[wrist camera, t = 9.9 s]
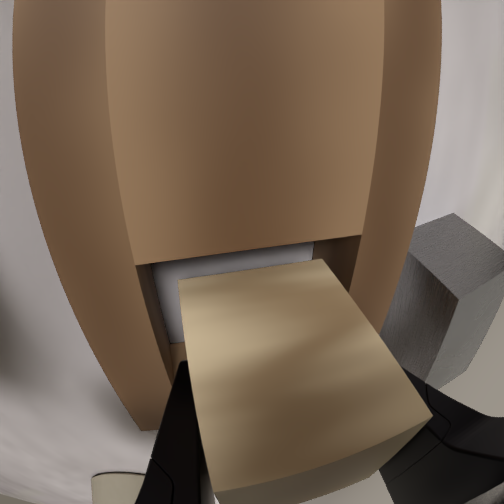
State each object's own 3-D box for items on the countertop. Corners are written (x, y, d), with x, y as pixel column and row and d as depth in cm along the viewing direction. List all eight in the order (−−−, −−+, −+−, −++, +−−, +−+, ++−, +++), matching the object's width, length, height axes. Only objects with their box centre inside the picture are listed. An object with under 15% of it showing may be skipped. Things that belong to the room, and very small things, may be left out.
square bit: (321, 258, 10) (433, 416, 5) (305, 349, 12) (368, 477, 7) (177, 279, 9) (213, 492, 4) (195, 371, 11) (229, 519, 6)
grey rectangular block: (451, 211, 14) (517, 261, 10) (426, 321, 19) (465, 370, 15) (389, 234, 14) (458, 299, 10) (375, 347, 19) (413, 404, 15)
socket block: (383, 6, 8) (441, 0, 5) (333, 345, 17) (356, 385, 14) (55, 3, 5) (16, -18, 3) (138, 381, 15) (141, 431, 12)
